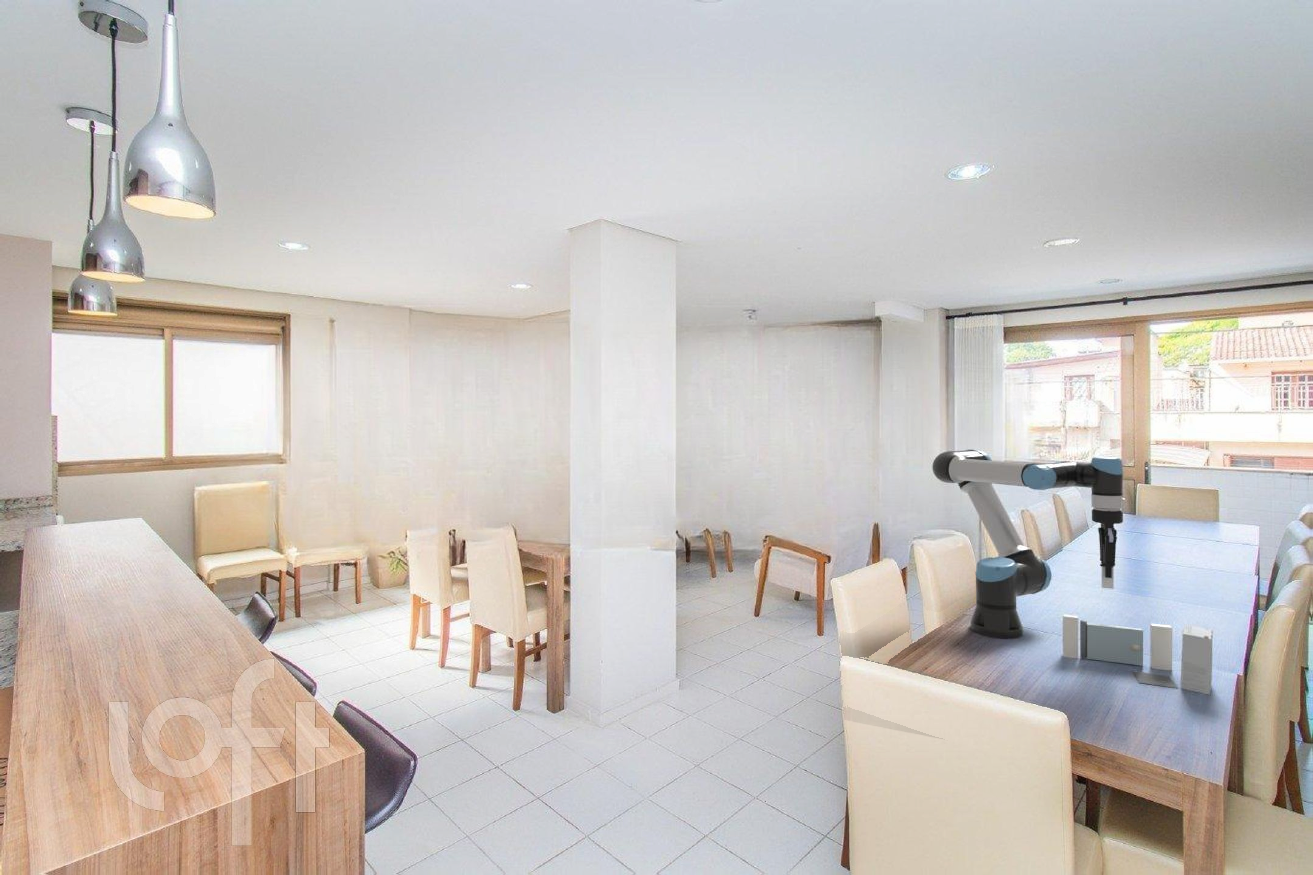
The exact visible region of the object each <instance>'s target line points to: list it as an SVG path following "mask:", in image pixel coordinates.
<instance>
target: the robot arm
mask: <svg viewBox="0 0 1313 875" xmlns="http://www.w3.org/2000/svg"><path fill="white" fill-rule="evenodd" d="M931 468H932V472H933V474H934V476H935V477H936V478H937V480H939V481H941V482H942V483H947V484H958V486H959V489H960V491H961V492H963V493H966V494H968V497H969V499H970V501H971V502H972V505H973V507H974V508H975V511H976V513H977V514H978V517H979V519H980V520H981V523H982V524H983V527H984V528H985V530H986V533H987V535H988V536H989V538H990V541H991V542H992V544H993V546H994V548H995V551H996V552H997V554H998V556H996V557H992V556H991V557H986V558H982V559H980V560H978V562H977V563H976V566H975V567H976V570H975V594H976V595H975V598H976V600H975V601H976V602H975V603H976V604H975V605H976V606H975V608H974V611H973V613H972V616H971V618H970V629H971V630H972V631H973V632H975V633H978V634H979V635H983V636H986V637H990V638H991V637H992V638H999V639H1015V638H1020V637H1021V636H1023V631H1024V630H1023V625H1022V621H1021V619H1020V617H1019V613H1018V611H1017V597H1022V596H1026V595H1034V594H1035V595H1036V594H1037V593H1041V592H1043V591H1045V590H1047V588H1048V587H1049V586H1050V584H1051V581H1052V577H1053V576H1052V570H1051V568H1050V565H1049V564H1048V563H1047V562H1046V560H1044V559H1042V558H1041V557H1039V556H1036V555H1035V553H1034V550H1033V549H1032V548H1030V547H1028V546H1025V544H1024V543H1023V541H1022V539H1021V536H1020V534H1019V533H1018V531H1017V529H1016V528H1015V525H1014V523H1013V522H1012V520H1011V518H1010V517H1009V514H1008V512H1007V511H1006V509H1005V507H1004V505H1003V503H1002V501H1001V499H1000V497H999V494H998V493H997V492H996V489H995V488H994V486H993V484H995V485H1005V486H1015V487H1016V486H1017V487H1023V488H1030V489H1032V490H1035V491H1036V490H1038V491H1046V490H1049V489H1059V488H1069V487H1075V488H1076V487H1079V488H1082V487H1083V488H1091V494H1090V495H1091V497H1090V498H1091V508H1092V510H1091V521H1092V522H1094V523H1099V524H1100V527H1097V530H1098V537H1099V538H1098V540H1099V557H1100V558H1099V561H1100V563H1099V566H1100V567H1101V588H1102V589H1115V587H1114V579H1115V578H1114V577H1115V576H1114V570H1115V569H1114V567H1115V566H1116V550H1117V549H1116V548H1117V539H1118V536H1117V535H1118V534H1117V533H1118V531H1117V529H1116V528H1115V524H1117V525H1118V524H1122V523H1123V522H1124V511H1123V510H1122V509H1123V508H1124V507H1123V505H1124V504H1123V502H1126V499H1125V498H1123V494H1124V492H1123V486H1124V484H1123V481H1124V479H1123V478H1124V477H1123V476H1124V471H1123V461H1122V459H1121V458H1120V457H1117V456H1116V457H1114V456H1095V457H1092V458H1091V462H1075V461H1067V460H1066V461H1065V460H1064V461H1056V462H1054V463H1035V462H1034V463H1030V462H1017V461H1016V462H1014V461H1000V460H992V458H991V457H990V456H989V454H987V453H986V452H984V451H982V450H978V449H966V450H953V451H952V450H950V451H949V450H948V451H944V452H942V453H939V454H937V456H935V458H934V460H933V462H932V467H931Z"/></svg>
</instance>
